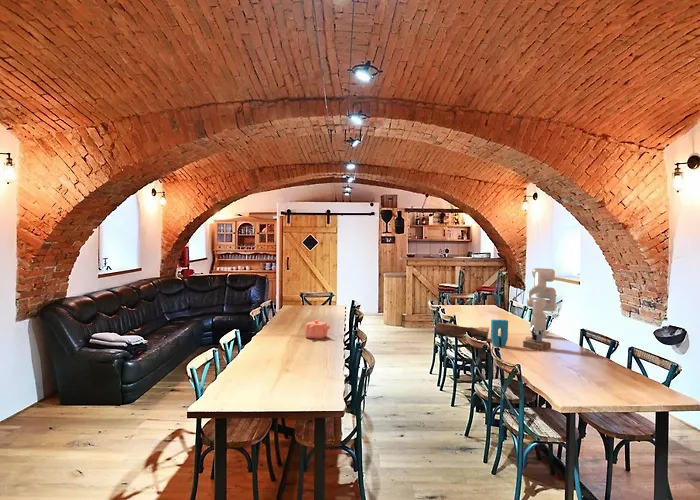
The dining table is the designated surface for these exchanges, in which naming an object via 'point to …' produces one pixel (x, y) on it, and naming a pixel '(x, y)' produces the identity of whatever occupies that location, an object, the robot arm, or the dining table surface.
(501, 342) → the block
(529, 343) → the walnut base block
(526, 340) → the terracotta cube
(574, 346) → the dining table surface
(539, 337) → the slate-blue cube
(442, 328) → the log
